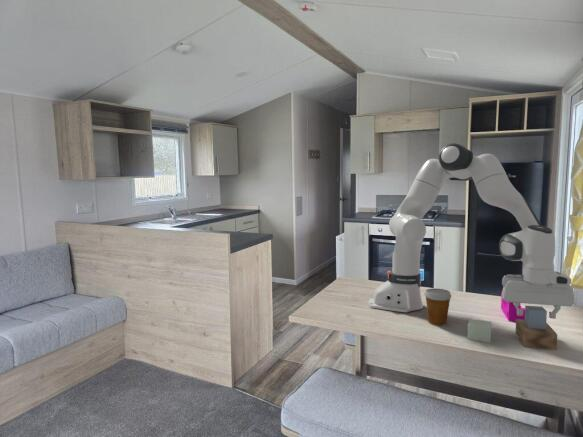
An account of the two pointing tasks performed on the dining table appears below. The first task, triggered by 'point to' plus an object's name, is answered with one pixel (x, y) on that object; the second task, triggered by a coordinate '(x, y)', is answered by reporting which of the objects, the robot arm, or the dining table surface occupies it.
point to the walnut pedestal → (536, 336)
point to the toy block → (511, 310)
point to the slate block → (535, 317)
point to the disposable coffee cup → (437, 305)
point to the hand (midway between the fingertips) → (535, 316)
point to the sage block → (479, 330)
